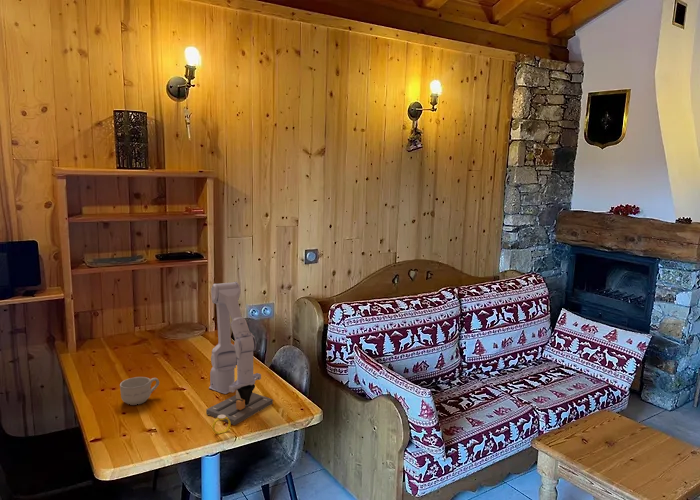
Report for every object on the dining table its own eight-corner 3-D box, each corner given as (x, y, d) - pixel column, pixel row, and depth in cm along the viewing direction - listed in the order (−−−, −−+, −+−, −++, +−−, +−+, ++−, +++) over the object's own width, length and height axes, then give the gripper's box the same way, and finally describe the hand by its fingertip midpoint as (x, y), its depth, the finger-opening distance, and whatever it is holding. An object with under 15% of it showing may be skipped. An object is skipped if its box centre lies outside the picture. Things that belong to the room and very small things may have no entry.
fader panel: (206, 414, 188) (206, 408, 188) (245, 394, 205) (245, 389, 204) (234, 425, 180) (234, 419, 180) (272, 403, 197) (272, 398, 197)
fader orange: (236, 408, 188) (236, 400, 187) (240, 406, 190) (240, 397, 189) (240, 410, 187) (240, 401, 186) (245, 407, 189) (245, 399, 188)
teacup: (121, 410, 189) (120, 389, 188) (119, 398, 198) (118, 378, 197) (162, 403, 195) (161, 383, 194) (158, 391, 205) (157, 372, 203)
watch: (228, 429, 178) (229, 413, 177) (231, 433, 176) (232, 416, 175) (211, 432, 175) (212, 415, 174) (213, 436, 173) (214, 419, 172)
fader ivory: (235, 398, 196) (235, 390, 195) (240, 396, 198) (240, 388, 197) (239, 399, 195) (239, 391, 194) (244, 397, 197) (244, 389, 196)
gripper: (238, 377, 180) (239, 414, 182) (267, 364, 192) (267, 399, 194) (224, 372, 183) (224, 409, 186) (252, 360, 195) (253, 394, 198)
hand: (245, 403), depth 190 cm, fingers closed
